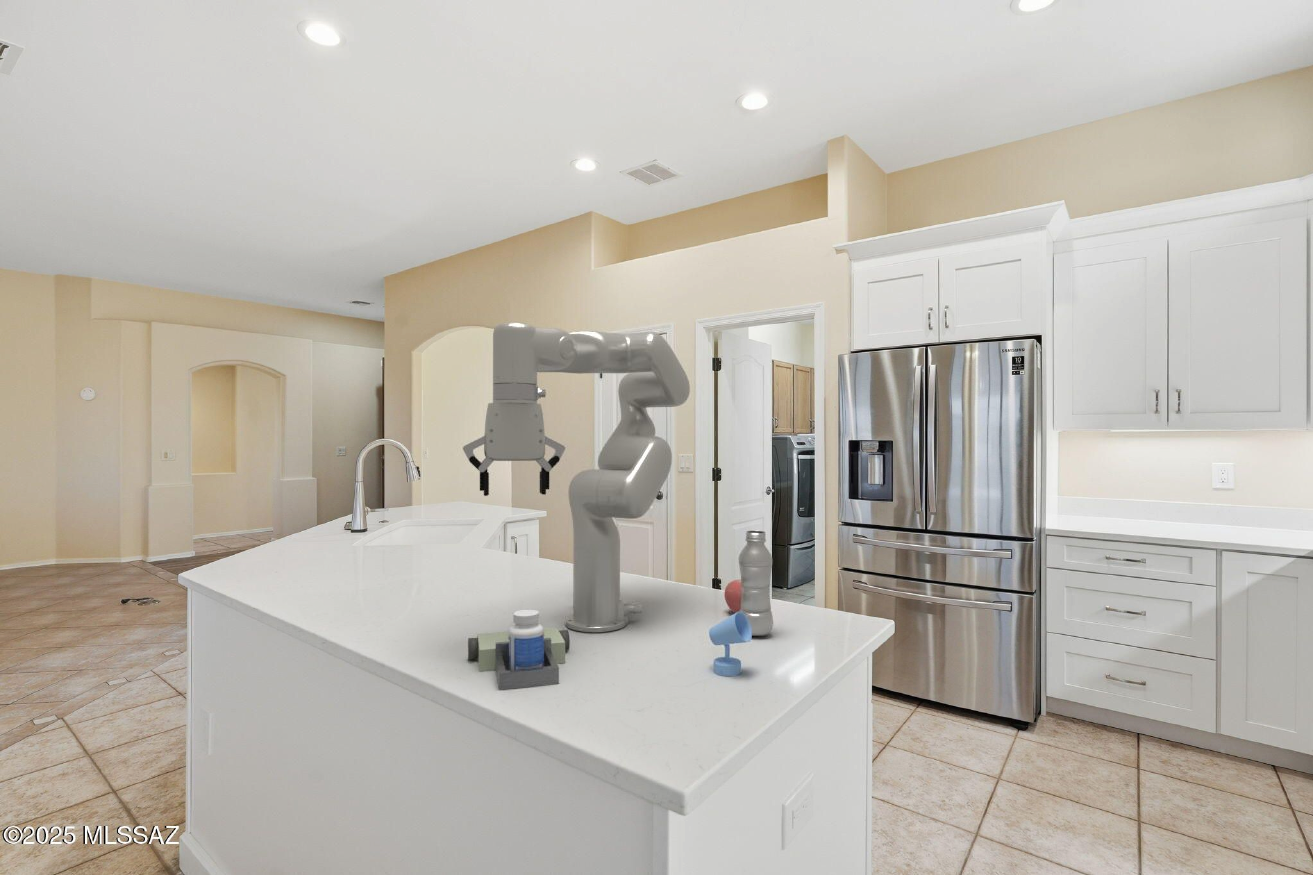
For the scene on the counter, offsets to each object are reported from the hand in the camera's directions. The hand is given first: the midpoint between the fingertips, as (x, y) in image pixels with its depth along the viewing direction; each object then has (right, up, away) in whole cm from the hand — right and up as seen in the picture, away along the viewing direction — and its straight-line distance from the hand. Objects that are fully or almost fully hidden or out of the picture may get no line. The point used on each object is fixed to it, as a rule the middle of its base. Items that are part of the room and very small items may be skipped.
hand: (514, 494), depth 113 cm
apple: (+43, -29, +29) cm, 59 cm away
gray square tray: (+4, -28, -9) cm, 30 cm away
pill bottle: (+4, -28, -9) cm, 30 cm away
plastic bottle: (+44, -29, +14) cm, 54 cm away
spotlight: (+37, -29, -6) cm, 47 cm away
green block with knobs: (+1, -28, 0) cm, 28 cm away
